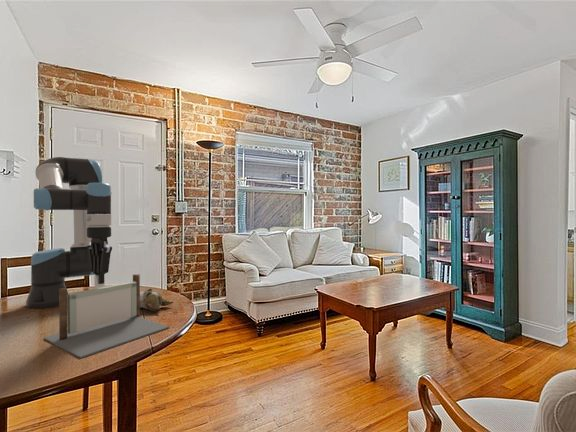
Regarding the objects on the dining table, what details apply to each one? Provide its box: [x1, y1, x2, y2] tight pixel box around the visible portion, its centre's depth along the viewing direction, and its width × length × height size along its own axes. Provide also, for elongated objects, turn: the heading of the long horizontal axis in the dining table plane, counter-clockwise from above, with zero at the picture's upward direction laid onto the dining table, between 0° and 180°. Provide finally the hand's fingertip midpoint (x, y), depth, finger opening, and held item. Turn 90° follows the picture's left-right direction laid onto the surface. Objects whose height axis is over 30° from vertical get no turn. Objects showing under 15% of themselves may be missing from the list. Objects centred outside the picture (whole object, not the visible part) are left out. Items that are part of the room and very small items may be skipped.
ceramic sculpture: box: [140, 288, 174, 312], centre depth 133 cm, size 11×9×15 cm
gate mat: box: [43, 316, 170, 359], centre depth 106 cm, size 24×28×1 cm
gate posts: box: [58, 273, 141, 340], centre depth 112 cm, size 2×28×16 cm, turn 152°
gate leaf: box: [67, 281, 137, 334], centre depth 111 cm, size 22×2×12 cm, turn 146°
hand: (99, 292), depth 116 cm, fingers closed
